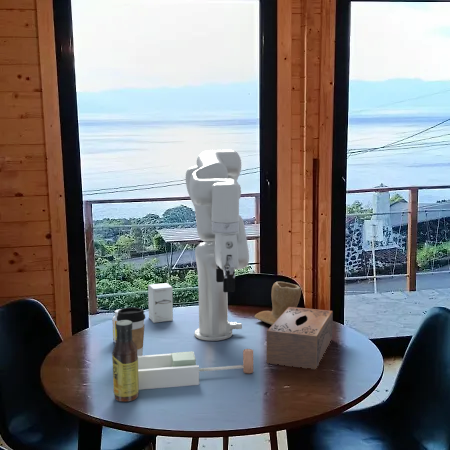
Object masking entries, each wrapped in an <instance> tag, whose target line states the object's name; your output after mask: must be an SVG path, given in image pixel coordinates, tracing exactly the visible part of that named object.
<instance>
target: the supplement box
mask: <svg viewBox="0 0 450 450" xmlns="http://www.w3.org/2000/svg"><path fill="white" fill-rule="evenodd" d="M147 289H148V290H147V293H148V298H147V299H148V318H149V319H150V321H151V322H152V323H153V324H156V323H161V322H172V321H174V307H173V306H174V305H173V304H174V303H173V294H174V293H173V286H171V285H170V284H169V283H167V282H164V283H152V284H148V285H147Z"/></svg>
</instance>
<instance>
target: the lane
mask: <svg viewBox="0 0 450 450" xmlns="http://www.w3.org/2000/svg"><path fill="white" fill-rule="evenodd" d="M193 353H194V354H195V352H194V351H193ZM199 369H200V366H199V364H198V365H197V364H196V365H191V366H178V367H172V360H171V353H160V354H159V353H158V354H148V355H144V354H143V356H138V381H139V391H142V390H151V389H164V388H165V389H166V388H176V387H187V386H199V385H200V372H199Z"/></svg>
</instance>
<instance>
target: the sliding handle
mask: <svg viewBox="0 0 450 450" xmlns="http://www.w3.org/2000/svg"><path fill="white" fill-rule="evenodd" d="M242 351H243V352H242V354H243V355H242V356H243V357H242V360H243V362H242V363H243V364H238V365H226V366H216V367H203V368H202V367H201V368H200V367H199V373H200V372H210V371H213V372H214V371H223V370H234V369H235V370H237V369H243V373H244V374H252V373H254V349H252V348H246V349H244V350H242ZM193 352H194V351H193V350H192V351H181V352H180V351H178V352H171V353H170V354H171V360H172V367H178V366H191V365H197V359H196V356H195V352H194V353H193Z"/></svg>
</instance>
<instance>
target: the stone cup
mask: <svg viewBox="0 0 450 450" xmlns="http://www.w3.org/2000/svg"><path fill="white" fill-rule="evenodd" d="M270 295H271V303H272V305H271V306H272V309H271V310H262V311H259V312H258V313H256V314H255V315H254V318H255V319H256V320H259V321H260V322H261V321H262V322H264V323H266V324H269V325H271V326H272V325H273V324H274V322H275V321H276V320H277V319H278V318H279V317H280V316H281V315H282V314H283V313H284V312H285V310H286V309H287V308H288V307H295V308H298V304H299V303H300V298H301V295H302V289H301V287H300V286H299V285H298V284H294V283H290V282H285V281H276V282H274V283H273V285H272V287H271V294H270Z"/></svg>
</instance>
